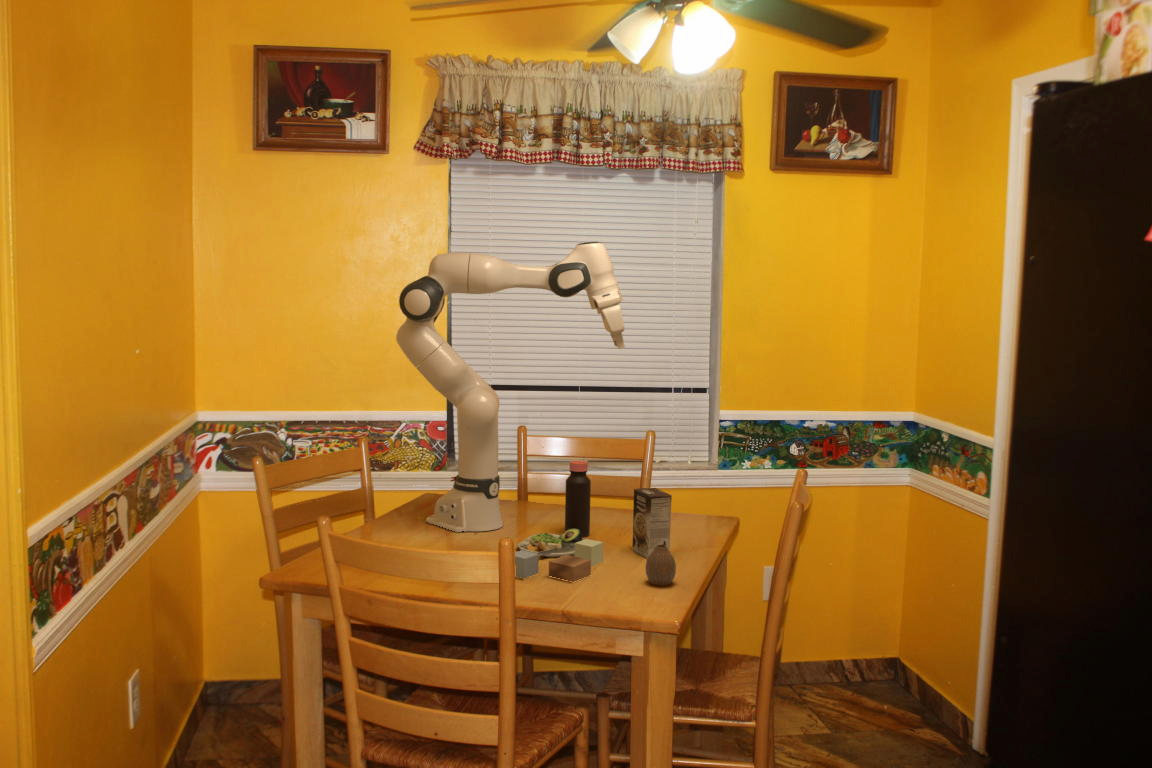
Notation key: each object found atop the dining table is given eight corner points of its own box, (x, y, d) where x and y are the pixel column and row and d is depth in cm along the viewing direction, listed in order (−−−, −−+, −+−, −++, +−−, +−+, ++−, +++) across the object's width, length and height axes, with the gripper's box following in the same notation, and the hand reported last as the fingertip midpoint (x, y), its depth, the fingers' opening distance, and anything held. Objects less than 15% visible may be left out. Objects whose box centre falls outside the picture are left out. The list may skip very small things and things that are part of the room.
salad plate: (569, 566, 226) (569, 547, 225) (504, 556, 233) (504, 538, 232) (599, 546, 244) (599, 529, 243) (537, 538, 251) (537, 521, 250)
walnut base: (548, 578, 216) (548, 561, 215) (566, 571, 221) (566, 554, 221) (573, 584, 212) (573, 566, 211) (590, 576, 217) (591, 560, 217)
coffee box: (631, 550, 239) (632, 488, 237) (653, 548, 242) (655, 486, 240) (647, 560, 231) (649, 496, 229) (670, 557, 233) (672, 494, 232)
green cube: (574, 563, 227) (574, 543, 227) (586, 558, 231) (586, 538, 231) (591, 567, 224) (591, 546, 224) (602, 562, 228) (603, 542, 228)
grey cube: (507, 575, 216) (508, 554, 216) (521, 570, 220) (521, 550, 220) (524, 580, 213) (525, 558, 213) (538, 574, 217) (538, 554, 217)
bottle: (591, 532, 256) (592, 460, 254) (587, 538, 249) (589, 465, 247) (566, 530, 257) (568, 459, 255) (562, 537, 250) (564, 463, 248)
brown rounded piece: (642, 578, 216) (644, 541, 215) (672, 578, 216) (673, 541, 216) (647, 588, 209) (648, 550, 208) (678, 588, 210) (679, 549, 209)
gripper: (591, 301, 264) (605, 347, 266) (597, 303, 244) (612, 353, 246) (612, 294, 265) (626, 341, 266) (620, 296, 244) (635, 346, 246)
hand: (620, 347), depth 256 cm, fingers open, 8 cm apart
